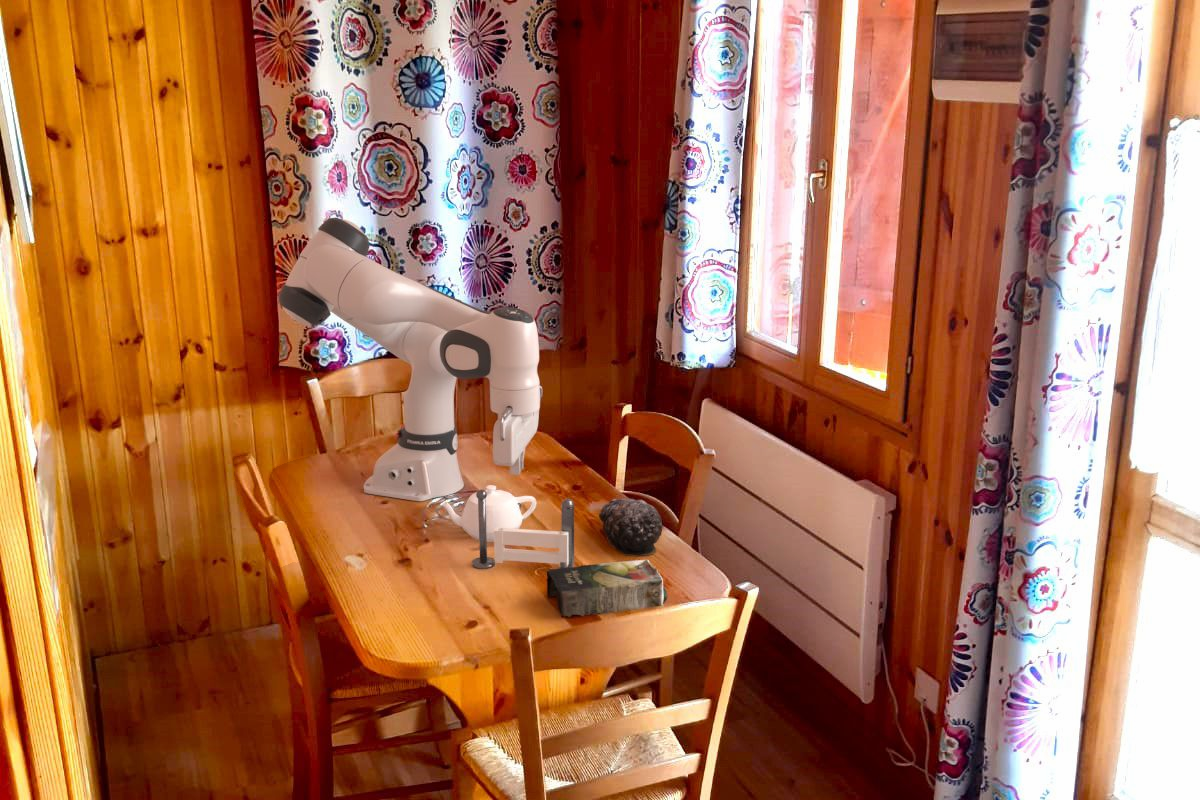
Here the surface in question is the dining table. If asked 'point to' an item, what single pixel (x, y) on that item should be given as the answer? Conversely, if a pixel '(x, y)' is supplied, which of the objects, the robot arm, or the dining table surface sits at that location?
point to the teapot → (492, 512)
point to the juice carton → (606, 587)
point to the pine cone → (631, 526)
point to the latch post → (568, 526)
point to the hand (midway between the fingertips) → (516, 472)
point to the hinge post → (482, 534)
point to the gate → (531, 539)
